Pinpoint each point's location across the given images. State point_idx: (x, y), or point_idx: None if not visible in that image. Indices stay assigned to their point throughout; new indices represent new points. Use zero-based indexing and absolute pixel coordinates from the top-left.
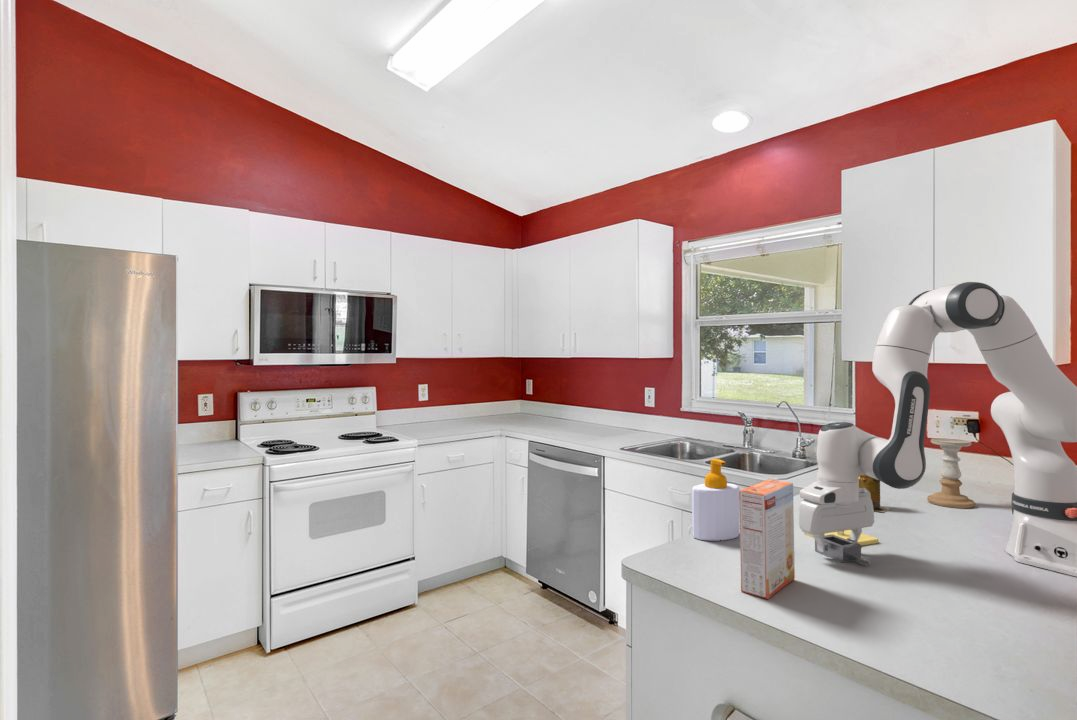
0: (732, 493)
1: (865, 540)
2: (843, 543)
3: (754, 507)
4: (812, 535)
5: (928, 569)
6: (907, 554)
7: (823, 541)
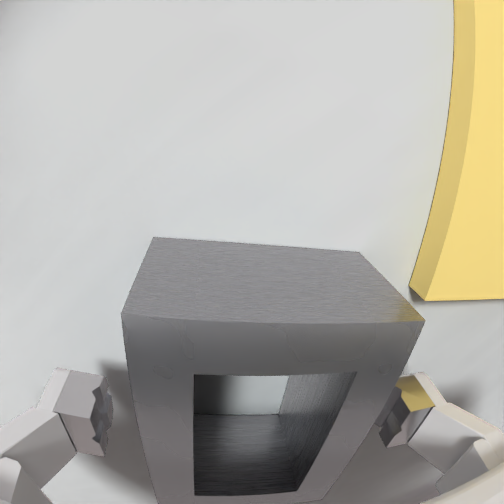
0: None
1: None
2: (313, 429)
3: None
4: (461, 6)
5: (386, 486)
6: (488, 401)
7: (51, 473)
